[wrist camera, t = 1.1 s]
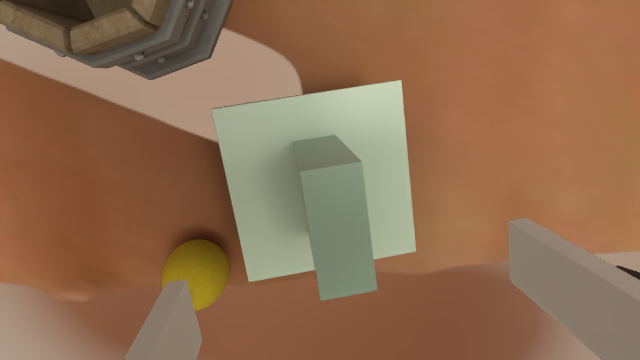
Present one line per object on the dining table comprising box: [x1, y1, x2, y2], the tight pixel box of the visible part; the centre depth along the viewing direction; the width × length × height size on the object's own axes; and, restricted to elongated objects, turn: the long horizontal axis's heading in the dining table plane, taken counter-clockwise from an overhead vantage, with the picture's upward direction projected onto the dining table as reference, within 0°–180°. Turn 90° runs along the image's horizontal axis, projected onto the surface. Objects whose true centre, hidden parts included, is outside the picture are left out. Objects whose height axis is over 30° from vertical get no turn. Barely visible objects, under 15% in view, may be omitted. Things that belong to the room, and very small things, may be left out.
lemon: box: [161, 239, 229, 311], centre depth 34 cm, size 6×6×8 cm
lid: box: [211, 80, 416, 301], centre depth 25 cm, size 13×13×11 cm
